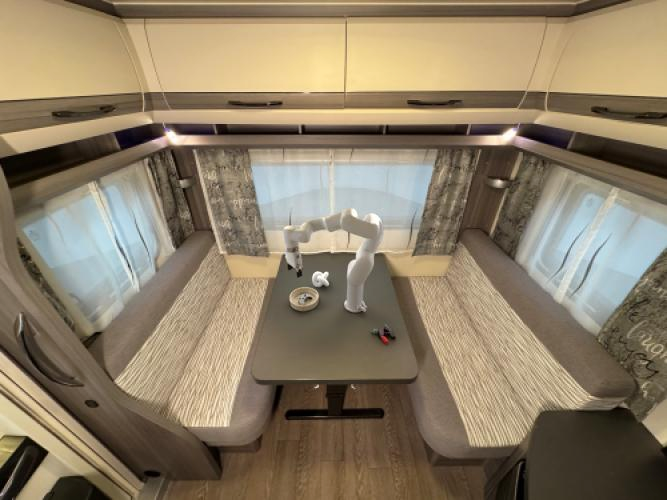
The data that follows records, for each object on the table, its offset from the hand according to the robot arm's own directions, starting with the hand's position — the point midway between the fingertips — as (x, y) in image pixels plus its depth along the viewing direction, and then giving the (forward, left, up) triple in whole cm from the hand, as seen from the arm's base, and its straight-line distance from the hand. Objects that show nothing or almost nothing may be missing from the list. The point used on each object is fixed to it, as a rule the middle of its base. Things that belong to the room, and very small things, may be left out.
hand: (294, 272), depth 151 cm
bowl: (-3, -3, -22) cm, 22 cm away
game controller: (-3, -3, -22) cm, 22 cm away
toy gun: (-55, -14, -22) cm, 61 cm away
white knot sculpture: (+2, -23, -22) cm, 32 cm away
